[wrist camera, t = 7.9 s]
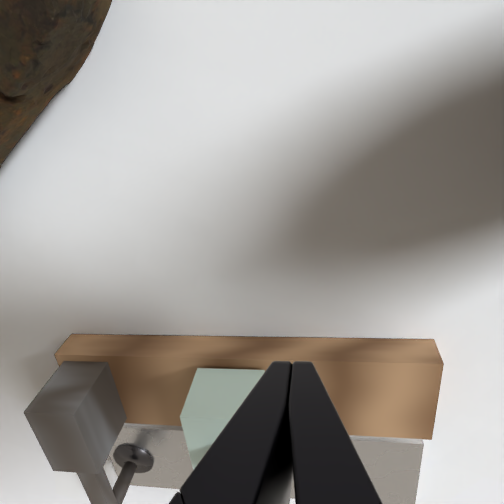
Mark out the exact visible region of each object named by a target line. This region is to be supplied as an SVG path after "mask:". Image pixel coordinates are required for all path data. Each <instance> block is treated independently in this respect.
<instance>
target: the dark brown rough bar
mask: <svg viewBox="0 0 504 504" xmlns="http://www.w3.org/2000/svg"><path fill="white" fill-rule="evenodd" d="M111 2H112V0H0V168H1V164H2V163H3V161H4V160H5V159H6V157H7V156H8V154H9V153H10V152H11V151H12V149H13V148H14V147H15V145H16V144H17V143H18V141H19V140H20V139H21V137H22V136H23V135H24V134H25V132H26V131H27V130H28V129H29V128H30V126H31V125H32V123H33V122H34V121H35V119H36V118H37V116H38V115H39V114H40V113H41V112H42V111H43V110H44V108H45V107H46V106H47V104H48V103H49V102H50V100H51V99H52V98H53V97H54V96H55V95H56V94H57V93H58V92H59V91H60V90H61V89H62V88H63V87H64V86H65V85H66V84H68V83H70V82H71V81H72V80H73V78H74V77H75V76H76V74H77V73H78V71H79V70H80V68H81V67H82V65H83V63H84V62H85V60H86V58H87V56H88V55H89V53H90V51H91V49H92V47H93V45H94V42H95V40H96V38H97V36H98V34H99V31H100V29H101V27H102V24H103V22H104V20H105V17H106V15H107V12H108V10H109V7H110V5H111Z"/></svg>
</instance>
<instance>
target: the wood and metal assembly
mask: <svg viewBox="0 0 504 504" xmlns="http://www.w3.org/2000/svg"><path fill="white" fill-rule="evenodd" d="M54 355H55V358H56V360H57V362H58V365H59V368H58V369H57V370H56V372H55V373H54V374H53V375H52V377H51V378H50V379H49V381H48V382H47V383H46V384H45V386H44V387H43V388H42V390H41V391H40V392H39V393H38V395H37V396H36V397H35V398H34V400H33V401H32V402H31V404H30V405H29V406H28V407H27V409H26V410H25V411H24V414H25V416H26V418H27V420H28V422H29V424H30V426H31V428H32V430H33V432H34V434H35V436H36V438H37V440H38V442H39V444H40V446H41V447H42V449H43V451H44V453H45V455H46V457H47V459H48V461H49V463H50V465H51V467H52V469H53V471H64V472H77V474H78V476H79V478H80V481H81V483H82V485H83V487H84V489H85V491H86V493H87V496H88V498H89V500H90V502H91V504H122V502H123V500H124V497H125V495H126V492H127V490H128V488H129V485H130V483H131V480H132V478H133V476H134V473H135V471H136V468H137V465H136V464H135V463H133V462H131V461H126V462H125V463H124V465H123V468H122V470H121V472H120V474H119V476H118V479H117V481H116V483H115V485H114V488H113V490H112V488H111V486H110V483H109V481H108V479H107V476H106V474H105V471H104V469H103V465H104V463H105V461H106V459H107V457H108V455H109V453H110V451H111V449H112V447H113V445H114V443H115V441H116V439H117V437H118V435H119V433H120V431H121V429H122V427H123V425H124V423H133V424H151V425H170V426H182V424H181V420H180V415H181V412H182V409H183V407H184V404H185V401H186V398H187V395H188V393H189V390H190V387H191V384H192V382H193V379H194V376H195V373H196V370H197V368H213V369H248V370H265V371H266V370H267V368H268V367H269V365H270V364H271V363H272V362H273V361H290V362H291V363H292V364H293V362H295V361H310V362H312V363H313V364H314V366H315V368H316V370H317V372H318V374H319V376H320V378H321V380H322V382H323V384H324V386H325V388H326V390H327V392H328V394H329V396H330V398H331V400H332V402H333V404H334V406H335V408H336V410H337V412H338V414H339V416H340V418H341V420H342V422H343V424H344V426H345V428H346V430H347V432H348V434H349V435H355V436H374V437H392V438H411V439H429V440H432V434H433V428H434V422H435V415H436V409H437V403H438V396H439V390H440V384H441V377H442V371H443V365H444V364H443V361H442V358H441V356H440V353H439V351H438V348H437V346H436V343H435V341H434V339H375V338H304V337H234V336H164V335H93V334H71V335H70V336H69V337H68V339H67V340H66V341H65V342H64V344H63V345H62V346H61V347H60V348H59V350H58V351H57V352H56V353H55V354H54Z"/></svg>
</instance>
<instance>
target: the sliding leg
mask: <svg viewBox="0 0 504 504" xmlns="http://www.w3.org/2000/svg"><path fill="white" fill-rule="evenodd" d="M264 372H265V370H248V369H213V368H197V370H196V373H195V376H194V379H193V382H192V384H191V387H190V390H189V393H188V395H187V398H186V401H185V404H184V407H183V409H182V412H181V415H180V420H181V424H182V428H183V432H184V436H185V440H186V443H187V447H188V451H189V455H190V459H191V463H192V467H193V470H194V469H195V467H196V466H197V464H198V463H199V462H200V460H201V459H202V458H203V456H204V455H205V453H206V452H207V451H208V449H209V448H210V447H211V445H212V444H213V442H214V441H215V440H216V438H217V437H218V436H219V434H220V433H221V431H222V430H223V429H224V427H225V426H226V425H227V423H228V422H229V420H230V419H231V418H232V416H233V415H234V414H235V412H236V411H237V409H238V408H239V407H240V405H241V404H242V403H243V401H244V400H245V398H246V397H247V396H248V394H249V393H250V392H251V390H252V389H253V387H254V386H255V385H256V383H257V382H258V381H259V379H260V378H261V376H262V375H263V374H264Z"/></svg>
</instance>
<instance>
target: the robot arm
mask: <svg viewBox="0 0 504 504" xmlns="http://www.w3.org/2000/svg"><path fill="white" fill-rule="evenodd" d="M293 479H294V490H295V502H296V504H383V503H382V501H381V499H380V497H379V495H378V493H377V491H376V489H375V487H374V485H373V483H372V481H371V479H370V477H369V475H368V473H367V471H366V469H365V467H364V465H363V463H362V461H361V459H360V457H359V455H358V453H357V451H356V449H355V447H354V445H353V443H352V441H351V438H350V436H349V434H348V432H347V430H346V428H345V426H344V424H343V422H342V420H341V418H340V416H339V414H338V412H337V410H336V408H335V406H334V404H333V402H332V400H331V398H330V396H329V394H328V392H327V390H326V388H325V386H324V384H323V382H322V380H321V378H320V376H319V374H318V372H317V370H316V368H315V366H314V364H313V363H312V362H310V361H295V362H293V364H292V363H291V362H290V361H273V362H272V363H271V364H270V365H269V367H268V368H267V370H266V371H265V372H264V374H263V375H262V376H261V378H260V379H259V381H258V382H257V383H256V385H255V386H254V387H253V389H252V390H251V392H250V393H249V394H248V396H247V397H246V398H245V400H244V401H243V403H242V404H241V405H240V407H239V408H238V409H237V411H236V412H235V414H234V415H233V416H232V418H231V419H230V420H229V422H228V423H227V425H226V426H225V427H224V429H223V430H222V431H221V433H220V434H219V436H218V437H217V438H216V440H215V441H214V442H213V444H212V445H211V447H210V448H209V449H208V451H207V452H206V453H205V455H204V456H203V458H202V459H201V460H200V462H199V463H198V464H197V466H196V467H195V469H194V470H193V471H192V473H191V474H190V475H189V477H188V478H187V480H186V481H185V482H184V484H183V485H182V486H181V488H180V492H177V493H176V494H175V496H174V497H173V498H172V500H171V501H170V503H169V504H289V502H290V495H291V488H292V480H293Z"/></svg>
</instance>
